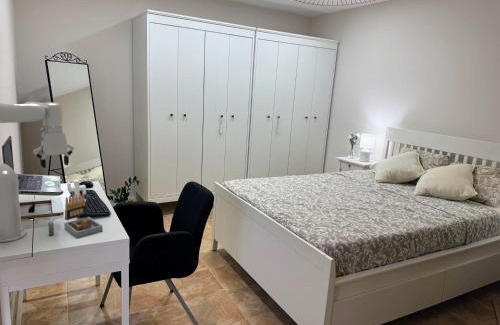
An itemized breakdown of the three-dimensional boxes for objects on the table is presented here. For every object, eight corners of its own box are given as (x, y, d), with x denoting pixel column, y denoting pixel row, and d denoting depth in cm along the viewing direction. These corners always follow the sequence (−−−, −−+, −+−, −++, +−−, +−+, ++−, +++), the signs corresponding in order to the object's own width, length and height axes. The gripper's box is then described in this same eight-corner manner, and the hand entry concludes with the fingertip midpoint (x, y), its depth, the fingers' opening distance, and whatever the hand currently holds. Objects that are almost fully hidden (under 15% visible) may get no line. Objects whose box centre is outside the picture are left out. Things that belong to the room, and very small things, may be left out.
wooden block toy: (81, 234, 162) (80, 222, 161) (72, 227, 169) (71, 215, 168) (95, 230, 167) (94, 219, 166) (85, 224, 174) (85, 212, 172)
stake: (50, 236, 160) (49, 224, 158) (48, 234, 161) (47, 222, 160) (54, 235, 161) (53, 223, 160) (53, 233, 162) (52, 221, 161)
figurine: (88, 205, 199) (87, 180, 195) (70, 209, 192) (69, 183, 189) (84, 202, 204) (83, 177, 200) (66, 205, 197) (65, 179, 194)
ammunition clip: (67, 220, 178) (65, 197, 176) (64, 219, 179) (63, 196, 176) (86, 214, 187) (85, 192, 184) (84, 213, 188) (83, 192, 185)
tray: (76, 238, 159) (76, 232, 159) (64, 228, 168) (64, 222, 168) (102, 231, 168) (102, 225, 168) (89, 222, 177) (89, 216, 177)
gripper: (34, 132, 151) (37, 170, 155) (76, 130, 164) (77, 165, 168) (29, 129, 156) (31, 166, 160) (69, 127, 169) (71, 162, 172)
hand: (55, 166), depth 164 cm, fingers open, 9 cm apart
